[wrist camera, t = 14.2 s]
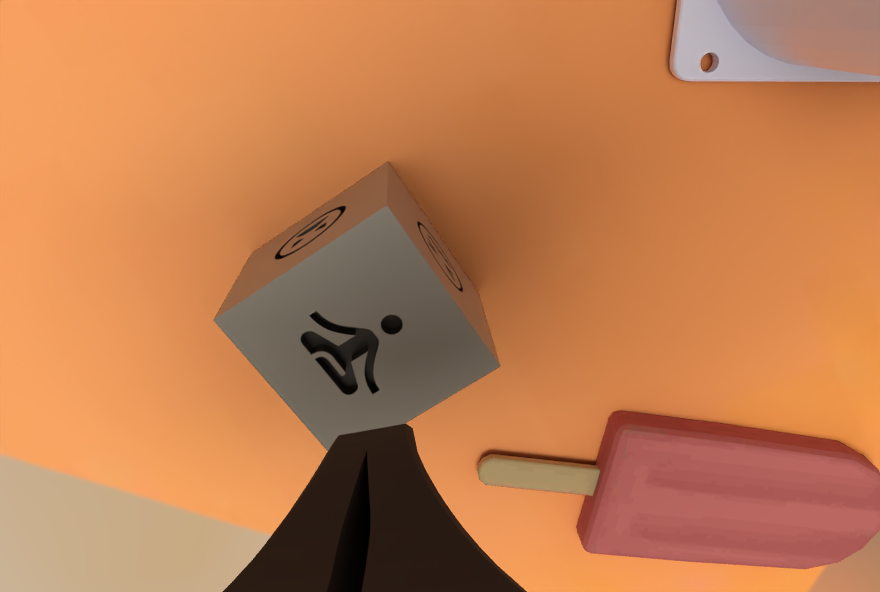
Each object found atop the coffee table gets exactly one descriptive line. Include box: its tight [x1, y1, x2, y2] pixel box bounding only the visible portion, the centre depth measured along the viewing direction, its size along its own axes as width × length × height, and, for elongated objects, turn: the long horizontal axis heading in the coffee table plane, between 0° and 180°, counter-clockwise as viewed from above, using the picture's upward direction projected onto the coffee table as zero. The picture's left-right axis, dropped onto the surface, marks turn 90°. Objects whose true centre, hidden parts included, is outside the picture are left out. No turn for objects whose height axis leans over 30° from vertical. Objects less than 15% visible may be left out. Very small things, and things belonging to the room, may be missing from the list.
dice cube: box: [214, 162, 500, 451], centre depth 20 cm, size 5×5×5 cm
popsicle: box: [478, 411, 880, 569], centre depth 25 cm, size 5×2×15 cm
